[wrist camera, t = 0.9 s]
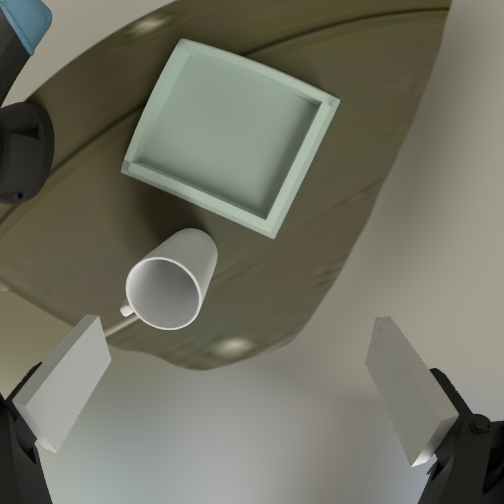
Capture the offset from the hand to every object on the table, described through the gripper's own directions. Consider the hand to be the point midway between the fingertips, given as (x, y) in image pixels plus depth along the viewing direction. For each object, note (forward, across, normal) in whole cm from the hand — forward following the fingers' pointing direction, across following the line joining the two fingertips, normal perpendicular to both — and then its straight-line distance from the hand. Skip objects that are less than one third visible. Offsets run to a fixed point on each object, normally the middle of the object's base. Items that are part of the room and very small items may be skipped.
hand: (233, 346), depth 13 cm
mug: (+23, -8, -4) cm, 24 cm away
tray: (+22, -2, +11) cm, 25 cm away
